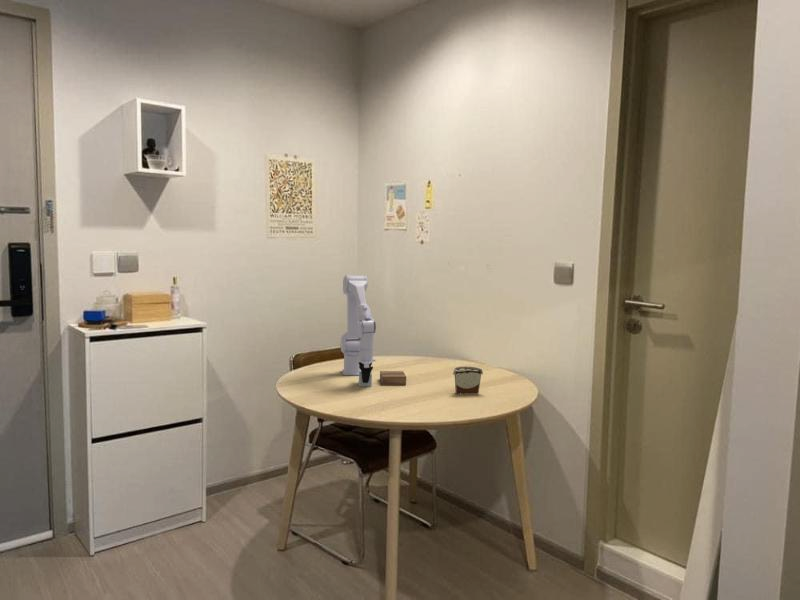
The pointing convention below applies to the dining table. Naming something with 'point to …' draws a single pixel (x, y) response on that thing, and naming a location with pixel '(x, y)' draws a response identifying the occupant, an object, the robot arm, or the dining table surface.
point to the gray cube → (362, 380)
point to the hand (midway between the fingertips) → (365, 381)
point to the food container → (467, 379)
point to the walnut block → (392, 378)
